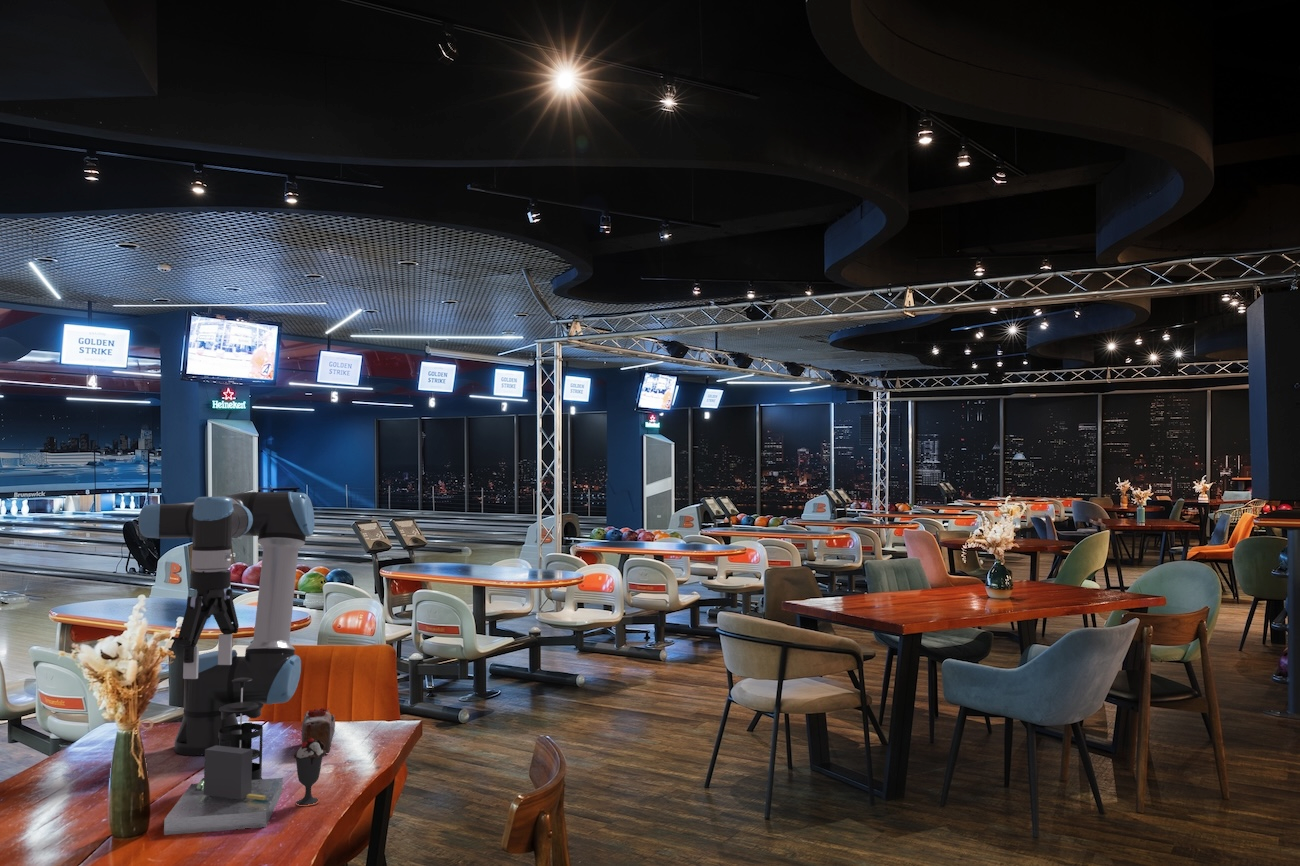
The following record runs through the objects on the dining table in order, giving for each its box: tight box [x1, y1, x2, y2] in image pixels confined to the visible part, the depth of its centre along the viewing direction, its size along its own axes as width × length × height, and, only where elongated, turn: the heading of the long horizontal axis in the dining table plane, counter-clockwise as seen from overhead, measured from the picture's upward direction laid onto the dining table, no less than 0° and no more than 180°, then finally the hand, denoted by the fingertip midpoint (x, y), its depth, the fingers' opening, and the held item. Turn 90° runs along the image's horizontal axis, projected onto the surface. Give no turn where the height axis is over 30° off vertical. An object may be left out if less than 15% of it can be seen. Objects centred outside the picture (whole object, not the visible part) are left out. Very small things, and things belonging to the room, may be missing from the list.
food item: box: [300, 707, 336, 753], centre depth 228 cm, size 14×8×10 cm, turn 21°
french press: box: [218, 678, 264, 780], centre depth 202 cm, size 12×9×23 cm
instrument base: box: [163, 777, 284, 836], centre depth 184 cm, size 20×18×5 cm
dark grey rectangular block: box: [203, 745, 266, 800], centre depth 184 cm, size 14×3×9 cm, turn 74°
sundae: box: [291, 732, 326, 805], centre depth 190 cm, size 7×7×15 cm
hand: (208, 671), depth 192 cm, fingers open, 13 cm apart
